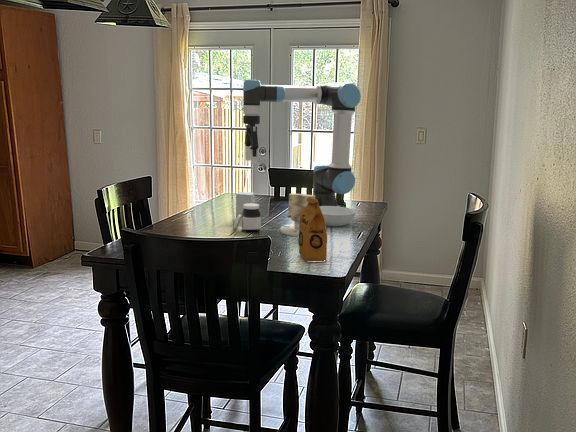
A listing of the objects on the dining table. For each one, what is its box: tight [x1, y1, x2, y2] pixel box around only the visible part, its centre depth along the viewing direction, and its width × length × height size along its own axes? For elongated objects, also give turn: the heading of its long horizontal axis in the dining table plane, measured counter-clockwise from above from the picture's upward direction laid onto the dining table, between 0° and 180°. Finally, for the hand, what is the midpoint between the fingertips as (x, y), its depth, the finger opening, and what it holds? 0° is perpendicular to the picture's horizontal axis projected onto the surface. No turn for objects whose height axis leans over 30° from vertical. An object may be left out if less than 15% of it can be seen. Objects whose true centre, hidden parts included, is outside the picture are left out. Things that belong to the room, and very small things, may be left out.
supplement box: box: [235, 191, 256, 222], centre depth 270 cm, size 7×7×13 cm
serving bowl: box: [319, 205, 356, 228], centre depth 264 cm, size 21×21×7 cm
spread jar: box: [232, 202, 262, 234], centre depth 248 cm, size 12×11×12 cm
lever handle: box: [286, 192, 315, 222], centre depth 247 cm, size 12×9×11 cm
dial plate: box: [279, 221, 300, 237], centre depth 249 cm, size 18×18×5 cm
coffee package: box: [297, 197, 328, 262], centre depth 206 cm, size 10×12×22 cm
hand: (251, 162), depth 262 cm, fingers open, 13 cm apart
